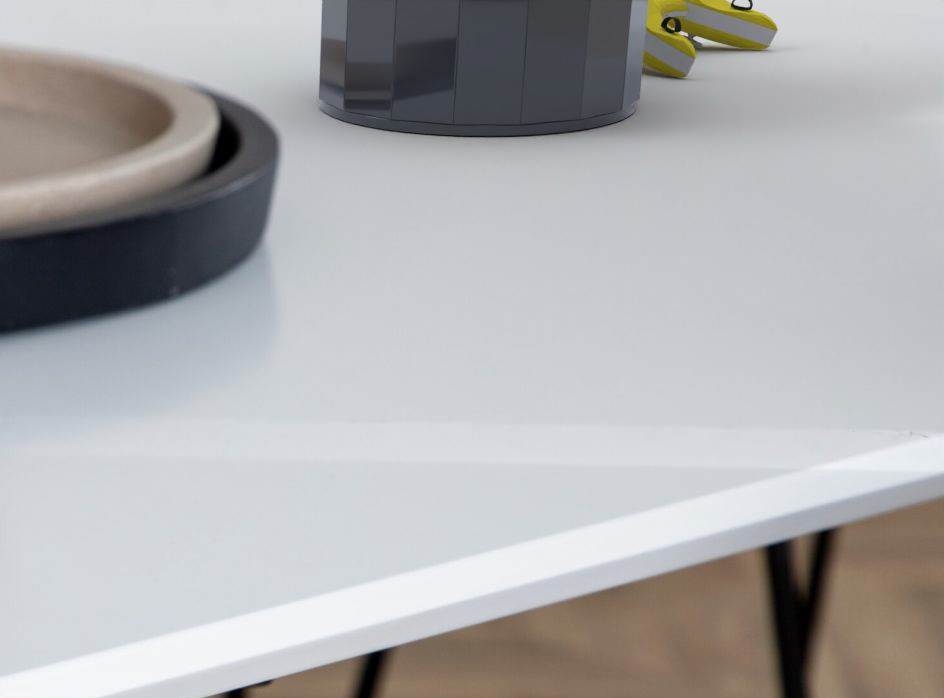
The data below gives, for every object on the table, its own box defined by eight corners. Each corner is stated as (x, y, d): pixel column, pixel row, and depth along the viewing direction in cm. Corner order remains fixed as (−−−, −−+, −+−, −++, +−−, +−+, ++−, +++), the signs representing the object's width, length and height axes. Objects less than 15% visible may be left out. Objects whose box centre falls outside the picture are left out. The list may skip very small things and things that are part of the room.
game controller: (654, 18, 122) (683, -43, 119) (755, 74, 119) (787, 13, 117) (566, 45, 115) (595, -19, 113) (671, 105, 112) (703, 41, 110)
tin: (615, 75, 113) (631, -104, 109) (656, 136, 99) (675, -66, 96) (318, 76, 114) (323, -100, 111) (318, 136, 101) (325, -62, 98)
